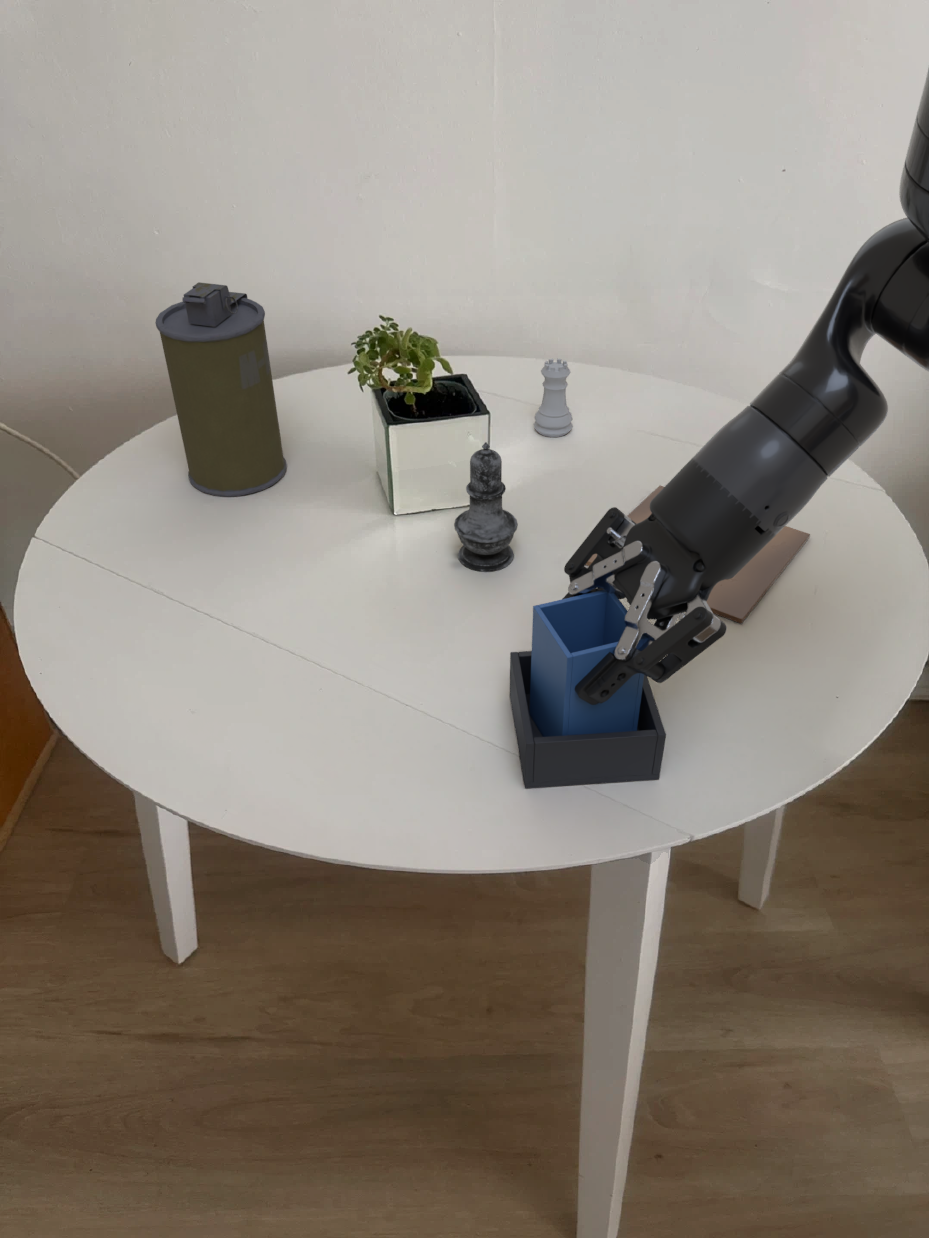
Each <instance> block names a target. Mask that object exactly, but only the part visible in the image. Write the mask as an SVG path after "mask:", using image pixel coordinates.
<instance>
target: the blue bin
mask: <svg viewBox="0 0 929 1238" xmlns="http://www.w3.org/2000/svg"><path fill="white" fill-rule="evenodd" d="M627 612H628V609H627V608H626V606H625V605H624V604H623V603H622V601H621V599H618V598H617V596H616V595H615V594H610V593H608V592H607V591H606V590H601V591H596V592H592V593H588V594H583V595H579V596H575V597H570V598H566V599H563V598H562V599H557V600H553V601H549V602H545V603H541V604H536V605H533V606H532V628H531V630H532V631H531V651H532V655H531V684H530V713H529V714H530V715H531V717H532V719H533V721H534V722H535V724H536V726H537V728H538V729H539V731H540V733H541V734H542V736H543V737H550V736H565V735H581V734H596V733H611V732H627V731H637V726H638V718H639V711H640V703H641V695H642V687H643V680H644V674H642V673H637V674H635V675H633V676H632V677H631V678H630V679H629V680H628V681H627V682H626V683H625V684H624V685H623V686H622V687H621V688H620V689H618V690H617V691H616V692H615V693H614V694H613V695H612V696H611V697H610V698H609V699H608V700H607V701H605V702H603V703H598V704H596V705H591V704H589V703H587V702H586V701H584V700H582V699H581V698H579V696H578V695H577V693H576V692H575V686H576V685H577V684H578V683H579V682H580V681H581V680H582V679H583V678H584V677H585V676H586V675H587V674H588V673H589V672H590V671H591V670H592V669H593V668H594V667H595V666H596V665H597V664H598V663H599V662H600V661H601V660H602V659H603V658H604V657H605V656H606V655H607V654H608V653H609V652H611V653H613V654H614V651H615V648H616V646H617V644H618V642H619V640H620V638H621V636H622V634H623V632H624V630H625V627H626V624H625V621H624V620H625V616H626V614H627ZM647 640H648V638H647V637H646V636H644V635H642V636H641V638H640V640H639V642H638V644H637V647H636V649H639V648H640V647H641V646H642V645H643V644H644V643H645V642H646V641H647Z"/></svg>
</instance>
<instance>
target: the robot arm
mask: <svg viewBox="0 0 929 1238" xmlns="http://www.w3.org/2000/svg"><path fill="white" fill-rule="evenodd" d="M901 171H902V172H901V176H900V182H899V191H898V192H899V193H898V196H899V202H900V205H901V209H902V211H903V213H904V214H905V217H903V218H900V219H897V220H894V221H892V222H890V223H889V224H887V225H885V226H883V227H882V228H880V229H879V230H877V231H875V232H874V233H873V234H872V235H870V237H868V238H867V240H865V242H863V244H862V245H861V246H860V247H859V249H858V250H857V251H856V253H855V254H854V256H853V257H852V259H851V260H850V262H849V264H848V265H847V267H846V269H845V270H844V272H843V274H842V275H841V278H840V279H839V281H838V284H837V285H836V287H835V289H834V291H833V292H832V295H831V297H830V298H829V300H828V301H827V303H826V305H825V307H824V308H823V310H822V312H821V313H820V315H819V316H818V318H817V320H816V321H815V322H814V324H813V326H812V328H811V329H810V331H809V332H808V335H807V336H806V338H805V339H804V340H803V342H802V344H801V346H800V347H799V349H798V350H797V352H796V353H795V355H794V356H793V357H792V359H791V360H790V361H789V363H788V364H786V366H785V367H784V368H783V369H781V371H780V372H779V373H778V374H776V376H775V377H773V379H772V380H771V381H770V382H769V383H768V384H767V385H766V386H765V387H764V388H763V389H762V390H761V391H760V392H759V393H758V394H757V396H755V397H754V398H753V399H752V401H751V402H750V403H749V405H747V406H745V408H743V409H742V410H741V411H740V412H739V413H738V414H737V415H736V416H734V417H733V418H732V419H731V420H729V421H728V422H726V423H725V424H724V425H723V426H722V427H721V428H720V429H719V430H717V431H716V433H714V435H713V436H712V437H711V438H710V439H709V440H708V441H707V442H706V443H705V444H704V445H703V446H702V447H701V448H700V449H699V451H697V452H696V454H695V455H694V456H692V458H691V459H690V460H689V461H688V462H686V464H685V465H684V466H682V468H681V469H680V470H679V471H678V472H677V473H676V474H675V475H674V476H673V478H671V480H670V481H669V482H668V483H667V484H665V485H664V486H663V487H664V488H663V489H662V490H661V491H660V492H659V493H658V494H657V495H656V496H655V497H654V498H653V500H652V501H651V503H650V511H651V512H652V514H651V515H650V516H649V517H648V518H647V519H645V520H644V521H642V522H640V523H637V524H636V523H635V522H634V521H633V520H631V519H630V518H629V517H628V515H626V513H624V512H623V511H622V510H620V509H619V508H618V507H615V506H614V507H611V508H609V509H608V510H607V511H606V512H605V514H604V515H603V516H602V517H601V519H600V520H599V521H598V522H597V523H596V525H595V526H594V528H593V529H592V530H591V531H590V532H589V534H588V535H587V537H586V538H585V539H584V540H583V541H582V543H581V544H580V545H579V546H578V547H577V549H576V551H574V553H573V554H572V556H571V557H570V558H569V559H568V561H566V563H565V565H564V567H563V571H564V573H565V574H566V575H567V576H568V579H569V584H568V589H567V591H568V592H567V593H566V594H565V595H564V596H563V597H562V599H566V598H570V597H575V596H579V595H583V594H588V593H592V592H596V591H601V590H606V591H607V592H608V593H610V594H615V595H616V596H617V598H618V599H619V600H625V599H626V602H627V603H628V604H629V608H628V609H627V611H628V612H627V614H626V616H625V620H624V621H625V624H626V627H625V630H624V632H623V634H622V636H621V638H620V640H619V642H618V644H617V646H616V648H615V651H614V654H613V653H611V652H609V653H608V654H607V655H606V656H605V657H604V658H603V659H602V660H601V661H600V662H599V663H598V664H597V665H596V666H595V667H594V668H593V669H592V670H591V671H590V672H589V673H588V674H587V675H586V676H585V677H584V678H583V679H582V680H581V681H580V682H579V683H578V684H577V685H576V686H575V692H576V693H577V695H578V696H579V698H581V699H582V700H584V701H586V702H587V703H589V704H591V705H596V704H598V703H603V702H605V701H607V700H608V699H609V698H610V697H611V696H612V695H613V694H614V693H615V692H616V691H617V690H618V689H620V688H621V687H622V686H623V685H624V684H625V683H626V682H627V681H628V680H629V679H630V678H631V677H632V676H633V675H635V674H637V673H642V674H644V675H646V676H647V678H649V679H651V680H652V681H654V682H655V683H658V684H662V683H664V682H666V681H667V680H668V679H670V678H671V677H672V676H673V675H675V674H676V673H677V672H678V671H680V670H681V669H683V668H684V667H685V666H686V665H688V664H689V663H690V662H691V661H693V660H694V659H695V658H696V657H698V656H699V655H701V654H702V653H703V652H704V651H706V650H707V649H708V648H709V647H711V646H712V645H714V644H715V643H716V642H717V641H719V640H720V639H721V638H722V637H724V636H725V634H726V632H727V625H726V623H725V622H724V621H723V620H721V619H720V618H719V617H718V615H716V614H714V613H713V612H712V610H711V609H710V607H709V605H708V604H707V602H706V601H707V600H708V597H709V595H710V593H711V591H712V589H713V587H714V586H715V585H716V584H717V583H718V582H720V581H722V580H725V579H731V578H733V577H734V576H735V575H736V574H737V573H738V572H739V571H740V570H741V569H742V568H743V567H744V566H745V565H746V564H747V563H748V562H749V561H750V560H751V559H752V558H753V557H754V556H755V555H756V554H757V553H758V552H759V551H760V550H761V549H762V548H763V547H764V546H765V545H766V544H767V543H768V542H769V541H771V540H772V539H773V538H774V537H775V536H776V535H777V534H778V533H779V532H780V531H781V530H782V529H783V528H784V527H785V526H787V525H788V524H790V522H791V521H792V520H793V519H794V518H795V517H796V516H797V515H799V513H800V512H801V511H802V510H803V509H804V508H805V507H806V505H807V504H808V503H809V502H810V501H811V499H812V498H813V497H814V496H815V494H816V493H817V491H819V489H820V488H821V487H822V485H824V483H825V482H826V481H827V480H828V478H829V477H831V476H832V475H833V474H834V473H835V472H836V471H837V470H838V469H839V468H840V467H841V466H843V464H844V463H845V462H846V461H847V460H848V459H850V457H852V456H853V454H854V453H855V452H857V451H858V450H859V449H860V448H861V446H863V445H864V444H865V443H866V442H867V441H868V440H869V439H870V438H871V437H872V436H873V434H874V433H876V431H878V429H879V428H880V427H881V426H882V425H883V423H884V421H886V418H887V416H888V413H889V412H888V411H889V405H888V401H887V399H886V397H885V394H884V393H883V391H882V390H881V388H880V387H879V386H878V384H877V382H876V381H874V379H873V378H872V376H871V375H870V374H869V373H868V372H867V370H866V369H865V368H864V367H863V365H862V363H861V361H862V360H861V359H862V356H863V353H864V351H865V350H866V349H865V348H866V346H867V344H868V343H869V341H870V340H871V339H872V338H873V337H874V336H875V335H877V336H878V337H879V338H881V339H882V340H884V342H886V343H888V344H889V345H890V346H891V347H893V348H895V349H896V350H897V351H898V352H900V353H901V354H902V355H904V356H905V357H907V358H908V359H909V360H911V361H912V362H913V363H915V364H916V365H917V366H919V367H920V368H922V369H924V370H925V371H927V372H929V66H928V67H927V72H926V77H925V81H924V85H923V89H922V93H921V97H920V100H919V104H918V107H917V112H916V115H915V119H914V123H913V127H912V131H911V135H910V138H909V143H908V147H907V151H906V156H905V159H904V164H903V168H902V170H901ZM594 554H597V557H596V558H595V560H594V561H593V562H592V563H591V565H590V566H587V567H586V565H585V564H586V563H587V562H588V561H589V559H590V558H591V557H592V556H593V555H594ZM650 620H654V621H655V622H654V623H652V622H650ZM677 620H678V621H677ZM642 635H644V636H646V637H647V638H648V640H647V641H646V642H645V643H644V644H643V645H642V646H641V647H640V648H639V649H636V647H637V644H638V642H639V640H640V638H641V636H642Z"/></svg>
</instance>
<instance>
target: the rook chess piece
mask: <svg viewBox="0 0 929 1238" xmlns="http://www.w3.org/2000/svg"><path fill="white" fill-rule="evenodd" d="M568 366H569V365H568V361H567V360H562V358H556V361H555V362H554V358H549V359H548V360H545V361H544V366H542V368H541V369H540V374H541V375H542V376H543V378H544V380H543V382H542V384H541V385H542V386H543V395H542V399H541V404H540V406H539V407H538V410H537V411H536V412H535V415H534V423H533V428H534V429H535V431H536V432H537V433H538V434H540V435H541V436H544V437H548V438H559V437H563V436H566V435H567V434H569V433H570V431H571V430H573V427H574V426H573V423H572V422H573V415H572V412H571V411H570V408H569V406H568V405H567V396H566V395H567V387H568V386H569V384H568V382H567V378H568V377H569V376H570V374H571V373H572V372H571V369H570V368H569V367H568Z"/></svg>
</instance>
